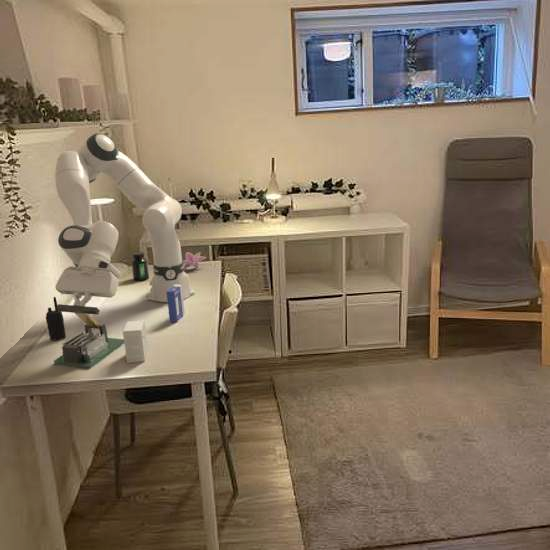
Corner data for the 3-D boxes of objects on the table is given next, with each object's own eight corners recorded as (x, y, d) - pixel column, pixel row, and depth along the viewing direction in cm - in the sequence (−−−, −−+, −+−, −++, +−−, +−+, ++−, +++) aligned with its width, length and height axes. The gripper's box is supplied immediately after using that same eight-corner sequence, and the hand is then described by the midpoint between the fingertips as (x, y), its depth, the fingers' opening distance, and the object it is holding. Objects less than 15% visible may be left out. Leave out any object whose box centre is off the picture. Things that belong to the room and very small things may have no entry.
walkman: (177, 322, 201) (173, 290, 198) (169, 322, 202) (166, 290, 198) (185, 314, 209) (182, 283, 205) (178, 314, 209) (175, 283, 206)
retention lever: (77, 323, 184) (58, 304, 174) (114, 327, 179) (96, 307, 170) (76, 327, 183) (56, 308, 173) (113, 330, 179) (95, 311, 169)
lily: (211, 269, 266) (204, 250, 268) (205, 267, 255) (199, 247, 256) (187, 278, 267) (181, 259, 268) (181, 276, 255) (174, 256, 257)
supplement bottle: (146, 281, 250) (143, 255, 246) (131, 281, 250) (128, 255, 247) (150, 276, 256) (147, 251, 253) (135, 277, 257) (132, 251, 253)
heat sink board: (91, 339, 190) (88, 316, 188) (125, 342, 186) (121, 319, 184) (54, 364, 173) (49, 339, 171) (90, 368, 169) (86, 343, 167)
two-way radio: (67, 335, 194) (60, 295, 190) (65, 341, 190) (57, 299, 186) (50, 337, 193) (43, 296, 189) (47, 342, 189) (40, 300, 185)
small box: (131, 352, 179) (126, 321, 176) (148, 350, 179) (145, 320, 176) (126, 363, 172) (122, 331, 168) (145, 361, 172) (141, 330, 169)
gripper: (60, 261, 180) (44, 300, 174) (115, 264, 173) (101, 305, 167) (71, 270, 185) (56, 309, 179) (125, 274, 178) (111, 313, 173)
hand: (78, 307), depth 173 cm, fingers closed, pressing on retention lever
